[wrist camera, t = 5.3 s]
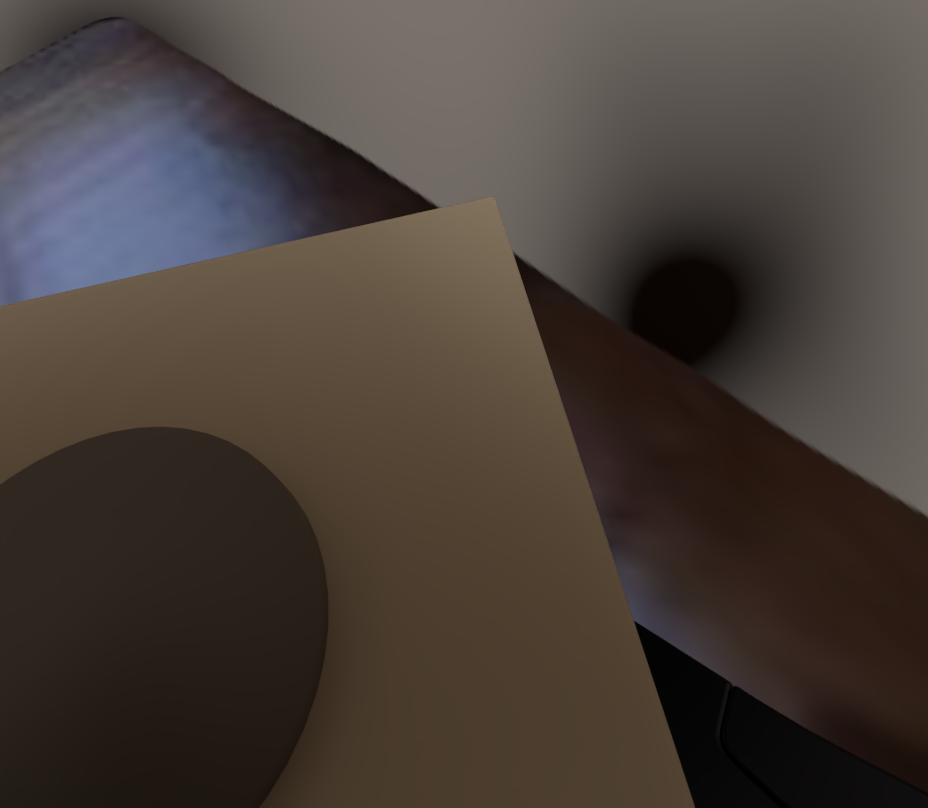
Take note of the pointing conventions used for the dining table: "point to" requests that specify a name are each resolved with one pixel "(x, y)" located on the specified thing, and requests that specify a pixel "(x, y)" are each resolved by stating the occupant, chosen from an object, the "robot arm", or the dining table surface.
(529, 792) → the maple block
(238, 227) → the dining table surface
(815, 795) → the robot arm
